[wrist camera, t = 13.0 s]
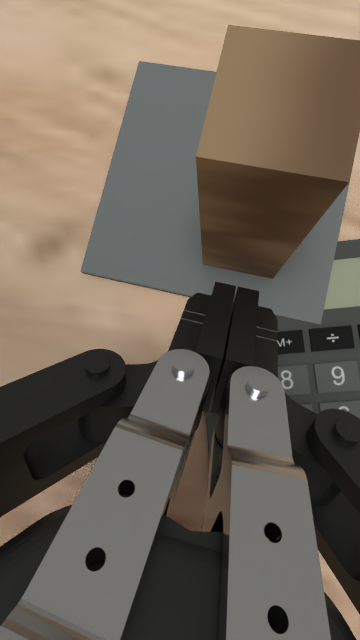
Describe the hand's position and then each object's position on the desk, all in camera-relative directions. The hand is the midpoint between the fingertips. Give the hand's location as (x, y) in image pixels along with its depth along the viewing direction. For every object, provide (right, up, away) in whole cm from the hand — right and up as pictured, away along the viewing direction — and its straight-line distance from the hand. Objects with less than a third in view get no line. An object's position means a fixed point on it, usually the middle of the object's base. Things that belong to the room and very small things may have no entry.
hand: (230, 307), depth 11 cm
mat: (+1, +8, +8) cm, 11 cm away
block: (+2, +4, +7) cm, 9 cm away
